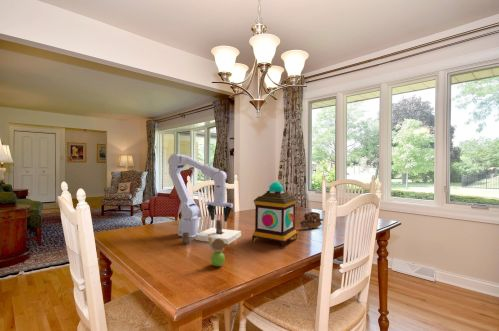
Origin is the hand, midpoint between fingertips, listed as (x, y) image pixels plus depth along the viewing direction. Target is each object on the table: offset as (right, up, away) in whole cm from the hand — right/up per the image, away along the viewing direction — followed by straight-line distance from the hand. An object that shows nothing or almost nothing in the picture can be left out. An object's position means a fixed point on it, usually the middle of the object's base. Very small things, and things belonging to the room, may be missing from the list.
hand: (219, 220), depth 136 cm
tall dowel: (0, -9, 0) cm, 9 cm away
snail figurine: (+3, -10, -36) cm, 38 cm away
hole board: (0, -9, 0) cm, 9 cm away
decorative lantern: (+29, -10, -3) cm, 30 cm away
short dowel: (-15, -9, -10) cm, 20 cm away
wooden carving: (+53, -10, +22) cm, 59 cm away
